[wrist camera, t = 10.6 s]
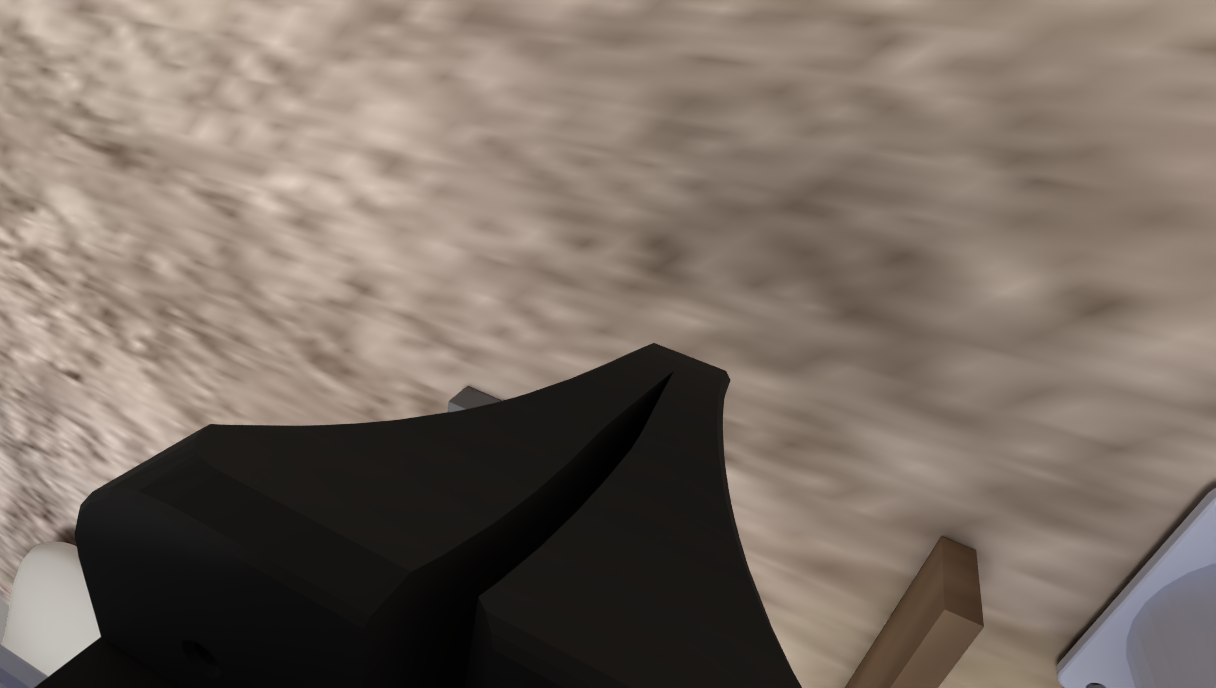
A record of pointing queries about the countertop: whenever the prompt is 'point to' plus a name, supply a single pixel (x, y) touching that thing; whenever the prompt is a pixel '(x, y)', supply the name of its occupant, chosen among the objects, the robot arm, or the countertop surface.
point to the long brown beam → (927, 624)
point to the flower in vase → (50, 608)
